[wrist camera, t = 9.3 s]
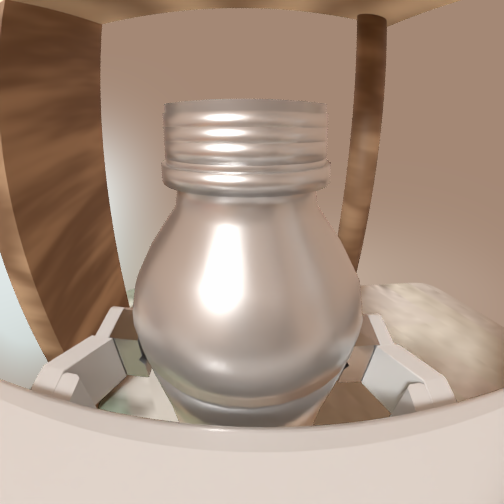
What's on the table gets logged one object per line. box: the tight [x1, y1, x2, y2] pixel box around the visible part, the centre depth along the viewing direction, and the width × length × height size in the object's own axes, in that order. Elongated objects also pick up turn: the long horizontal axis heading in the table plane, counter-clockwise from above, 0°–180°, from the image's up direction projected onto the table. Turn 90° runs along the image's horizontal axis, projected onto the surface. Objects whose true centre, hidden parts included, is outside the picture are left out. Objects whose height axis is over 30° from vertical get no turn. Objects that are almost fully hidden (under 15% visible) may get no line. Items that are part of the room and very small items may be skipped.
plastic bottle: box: [133, 99, 363, 427], centre depth 11 cm, size 6×7×20 cm
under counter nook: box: [0, 0, 461, 408], centre depth 20 cm, size 27×13×34 cm, turn 89°
